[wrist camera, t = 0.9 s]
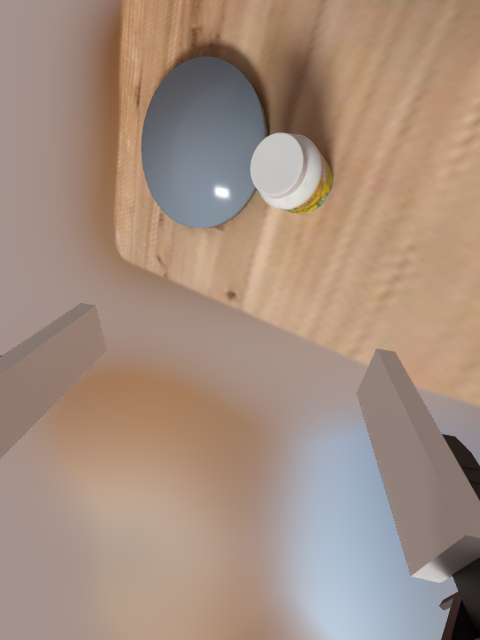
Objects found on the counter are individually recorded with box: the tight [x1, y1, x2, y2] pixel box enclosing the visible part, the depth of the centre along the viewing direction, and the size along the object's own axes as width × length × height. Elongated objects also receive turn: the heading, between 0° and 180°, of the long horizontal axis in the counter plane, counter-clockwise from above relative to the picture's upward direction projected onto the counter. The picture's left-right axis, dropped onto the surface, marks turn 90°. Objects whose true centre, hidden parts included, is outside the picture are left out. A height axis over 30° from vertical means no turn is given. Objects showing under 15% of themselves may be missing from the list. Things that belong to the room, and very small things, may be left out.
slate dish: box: [141, 56, 268, 228], centre depth 29 cm, size 16×16×2 cm
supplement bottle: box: [250, 132, 333, 214], centre depth 22 cm, size 5×5×10 cm
